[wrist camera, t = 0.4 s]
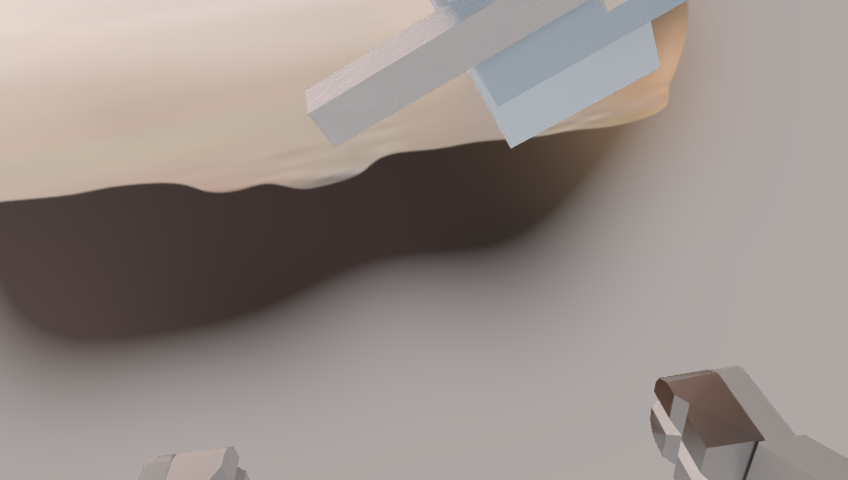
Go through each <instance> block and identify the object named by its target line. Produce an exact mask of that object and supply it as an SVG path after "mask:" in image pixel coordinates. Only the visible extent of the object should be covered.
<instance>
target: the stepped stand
mask: <svg viewBox="0 0 848 480" xmlns="http://www.w3.org/2000/svg"><path fill="white" fill-rule="evenodd" d="M452 1H453V0H431V2H432V4H433V6H434V8H435V10H436V11H437V10H439V9H440V8H442V7H443V6H445V5H447V4H448V3H450V2H452ZM686 1H688V0H627V1H625V2H624V3H622V4H620V5H618V6H617V7H615V8H613V9H611V10H610V11H608V12H607V11H606V10H605V9H604V8H603V7H601V6H600V5H599V4H598V3H597V2H596V1H594V0H588V1H586V2H584V3H583V4H581V5H579V6H578V7H576V8H574V9H572V10H571V11H569V12H567V13H565V14H564V15H562V16H560V17H559V18H557V19H555V20H553V21H552V22H550V23H548V24H547V25H545V26H543V27H541V28H540V29H538V30H536V31H534V32H533V33H531V34H529V35H528V36H526V37H524V38H522V39H521V40H519V41H517V42H516V43H514V44H512V45H510V46H509V47H507V48H505V49H503V50H502V51H500V52H498V53H497V54H495V55H493V56H491V57H490V58H488V59H486V60H484V61H483V62H481V63H479V64H478V65H476V66H474V67H472V68H471V69H469V70H467V73H468V75H469V76H470V78H471V80H472V82H473V83H474V85H475V87H476V88H477V90H478V92H479V94H480V95H481V97H482V99H483V101H484V102H485V104H486V106H487V108H488V109H489V111H490V113H491V115H492V116H493V118H494V120H495V122H496V123H497V125H498V127H499V129H500V130H501V132H502V134H503V136H504V137H505V139H506V141H507V143H508V144H509V146H510V148H512V147H514V146H516V145H518V144H520V143H522V142H524V141H525V140H527V139H529V138H531V137H533V136H535V135H537V134H538V133H540V132H542V131H544V130H546V129H548V128H549V127H551V126H553V125H555V124H557V123H559V122H560V121H562V120H564V119H566V118H568V117H570V116H571V115H573V114H575V113H577V112H579V111H581V110H582V109H584V108H586V107H588V106H590V105H592V104H594V103H595V102H597V101H599V100H601V99H603V98H605V97H606V96H608V95H610V94H612V93H614V92H616V91H617V90H619V89H621V88H623V87H625V86H627V85H628V84H630V83H632V82H634V81H636V80H638V79H639V78H641V77H643V76H645V75H647V74H649V73H651V72H652V71H654V70H656V69H658V68H660V63H659V58H658V53H657V49H656V44H655V39H654V34H653V29H652V24H651V21H652V20H654V19H656V18H658V17H659V16H661V15H663V14H665V13H666V12H668V11H670V10H672V9H674V8H675V7H677V6H679V5H681V4H682V3H684V2H686Z"/></svg>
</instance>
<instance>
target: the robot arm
mask: <svg viewBox="0 0 848 480" xmlns="http://www.w3.org/2000/svg"><path fill="white" fill-rule="evenodd" d="M654 392H655V394H656V396H657V398H658V399H659V400H658V401H657V402H656V403H655V404H654V405H653V406H652V408H651V415H650V421H651V428H652V433H653V436H654V439H655V442H656V444H657V446H658V448H659V450H660V452H661V454H662V456H663V457H665V458H667V459H668V460H669V461H671V462H672V463H674V464H675V465H676V467H675V472H674V479H675V480H848V458H846V457H844V456H842V455H840V454H839V453H837V452H835V451H833V450H831V449H830V448H828V447H826V446H824V445H822V444H821V443H819V442H817V441H815V440H813V439H811V438H810V437H808V436H806V435H797V436H796V435H795V433H794V432H793V431H792V429H791V428H790V427H789V426H788V424H787V423H786V422H785V421H784V419H783V418H782V417H781V416H780V415H779V413H778V412H777V411H776V409H775V408H774V407H773V406H772V404H771V403H770V402H769V401H768V399H767V398H766V397H765V395H764V394H763V393H762V392H761V390H760V389H759V388H758V386H757V385H756V384H755V383H754V381H753V380H752V379H751V378H750V376H749V375H748V374H747V373H746V371H745V370H744V369H742V368H741V367H739V366H731V367H725V368H719V369H712V370H703V371H697V372H691V373H685V374H680V375H674V376H668V377H662V378H659V379H658V380H657V381H656V384H655V389H654ZM238 460H239V456H238V455H237V452H236V451H235V449H234V447H225V448H217V449H210V450H202V451H194V452H187V453H179V454H172V455H166V456H158V457H151V458H149V460H148V461H147V462H146V464H145V465H144V466H143V468H142V471H141V474H140V476H139V479H138V480H250V479H249V477H248V475H247V473H246V471H244V470H242V469H240V468H238V467H237V465H238Z"/></svg>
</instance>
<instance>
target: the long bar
mask: <svg viewBox="0 0 848 480" xmlns="http://www.w3.org/2000/svg"><path fill="white" fill-rule="evenodd" d="M586 1H588V0H453V1H452V2H450V3H448V4H447V5H445V6H443V7H442V8H440V9H439V10H437V11H435V12H434V13H432V14H430V15H429V16H427V17H425V18H424V19H422V20H420V21H419V22H417V23H416V24H414V25H412V26H411V27H409V28H407V29H406V30H404V31H402V32H401V33H399V34H397V35H396V36H394V37H392V38H391V39H389V40H388V41H386V42H384V43H383V44H381V45H379V46H378V47H376V48H374V49H373V50H371V51H369V52H368V53H366V54H365V55H363V56H361V57H360V58H358V59H356V60H355V61H353V62H351V63H350V64H348V65H346V66H345V67H343V68H342V69H340V70H338V71H337V72H335V73H333V74H332V75H330V76H328V77H327V78H325V79H323V80H322V81H320V82H319V83H317V84H315V85H314V86H312V87H310V88H309V89H307V90H305V95H306V103H307V112H308V115H309V116H310V117H311V119H312V120H313V121H314V122H315V124H316V125H317V126H318V127H319V129H320V130H321V131H322V132H323V134H324V135H325V136H326V137H327V139H328V140H329V141H330V142H331V144H332V145H333V146H334V147H336V146H338V145H340V144H341V143H343V142H345V141H347V140H348V139H350V138H352V137H354V136H355V135H357V134H359V133H360V132H362V131H364V130H366V129H367V128H369V127H371V126H373V125H374V124H376V123H378V122H379V121H381V120H383V119H385V118H386V117H388V116H390V115H391V114H393V113H395V112H397V111H398V110H400V109H402V108H404V107H405V106H407V105H409V104H410V103H412V102H414V101H416V100H417V99H419V98H421V97H422V96H424V95H426V94H428V93H429V92H431V91H433V90H435V89H436V88H438V87H440V86H441V85H443V84H445V83H447V82H448V81H450V80H452V79H453V78H455V77H457V76H459V75H460V74H462V73H464V72H466V71H467V70H469V69H471V68H472V67H474V66H476V65H478V64H479V63H481V62H483V61H484V60H486V59H488V58H490V57H491V56H493V55H495V54H497V53H498V52H500V51H502V50H503V49H505V48H507V47H509V46H510V45H512V44H514V43H516V42H517V41H519V40H521V39H522V38H524V37H526V36H528V35H529V34H531V33H533V32H534V31H536V30H538V29H540V28H541V27H543V26H545V25H547V24H548V23H550V22H552V21H553V20H555V19H557V18H559V17H560V16H562V15H564V14H565V13H567V12H569V11H571V10H572V9H574V8H576V7H578V6H579V5H581V4H583V3H584V2H586ZM594 1H596V2H597V3H598V4H599V5H600V6H601V7H603V8H604V9H605V10H606V11H607V12H608V11H610V10H611V9H613V8H615V7H617V6H618V5H620V4H622V3H624V2H625V1H627V0H594Z"/></svg>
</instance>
